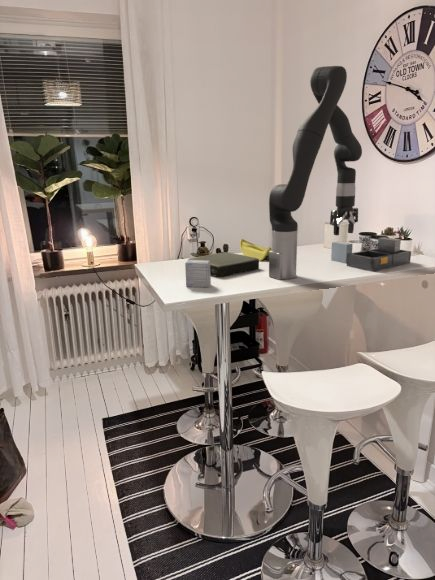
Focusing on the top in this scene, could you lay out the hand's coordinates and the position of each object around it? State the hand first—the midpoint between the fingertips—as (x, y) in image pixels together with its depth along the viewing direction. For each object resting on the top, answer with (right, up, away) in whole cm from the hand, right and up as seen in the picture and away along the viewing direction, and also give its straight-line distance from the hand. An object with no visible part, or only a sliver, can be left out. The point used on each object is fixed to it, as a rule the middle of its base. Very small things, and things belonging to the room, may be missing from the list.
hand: (343, 234), depth 178 cm
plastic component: (-34, -8, +17) cm, 39 cm away
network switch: (-51, -16, -6) cm, 53 cm away
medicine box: (-59, -22, -30) cm, 70 cm away
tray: (+13, -13, -4) cm, 19 cm away
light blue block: (0, -11, +3) cm, 12 cm away
